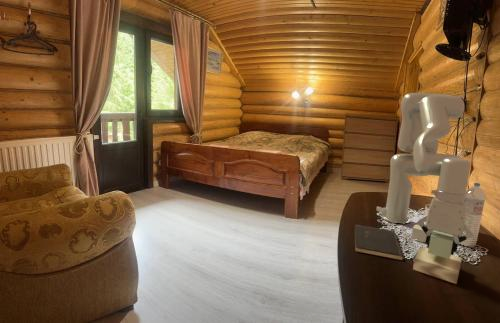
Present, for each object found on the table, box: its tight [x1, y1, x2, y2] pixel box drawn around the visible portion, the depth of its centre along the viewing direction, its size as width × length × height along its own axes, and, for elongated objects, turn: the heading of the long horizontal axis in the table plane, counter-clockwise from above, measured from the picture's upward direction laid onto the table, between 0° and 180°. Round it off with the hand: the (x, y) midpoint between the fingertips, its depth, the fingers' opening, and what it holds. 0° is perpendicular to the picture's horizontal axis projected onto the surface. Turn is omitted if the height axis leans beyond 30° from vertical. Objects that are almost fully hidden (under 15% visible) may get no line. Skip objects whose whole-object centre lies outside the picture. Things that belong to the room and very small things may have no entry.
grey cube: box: [410, 224, 429, 243], centre depth 124 cm, size 5×5×5 cm
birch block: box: [412, 245, 463, 285], centre depth 100 cm, size 12×12×4 cm
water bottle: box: [458, 182, 487, 248], centre depth 120 cm, size 7×7×25 cm
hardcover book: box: [354, 224, 404, 261], centre depth 118 cm, size 16×23×2 cm
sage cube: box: [428, 230, 454, 259], centre depth 99 cm, size 6×6×6 cm
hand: (440, 249), depth 99 cm, fingers closed on sage cube, 6 cm apart
